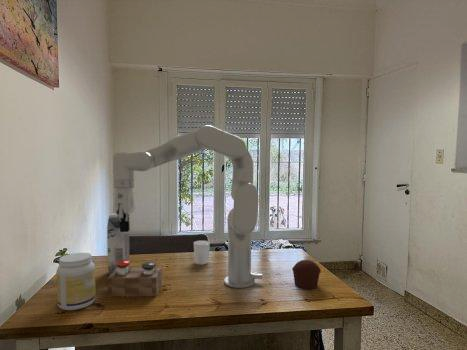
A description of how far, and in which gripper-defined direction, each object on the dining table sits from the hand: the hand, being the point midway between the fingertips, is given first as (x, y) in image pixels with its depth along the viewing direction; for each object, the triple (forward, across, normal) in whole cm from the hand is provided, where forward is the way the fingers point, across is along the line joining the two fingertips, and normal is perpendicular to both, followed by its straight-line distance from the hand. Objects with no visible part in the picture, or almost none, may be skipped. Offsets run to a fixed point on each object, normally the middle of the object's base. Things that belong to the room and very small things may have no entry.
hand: (124, 231), depth 126 cm
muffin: (+24, +1, -72) cm, 76 cm away
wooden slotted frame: (+23, -1, -4) cm, 24 cm away
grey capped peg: (+23, -1, -9) cm, 25 cm away
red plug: (+22, -1, +1) cm, 22 cm away
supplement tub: (+23, -12, +14) cm, 30 cm away
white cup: (+24, +31, -28) cm, 48 cm away
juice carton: (+23, +17, +8) cm, 30 cm away
